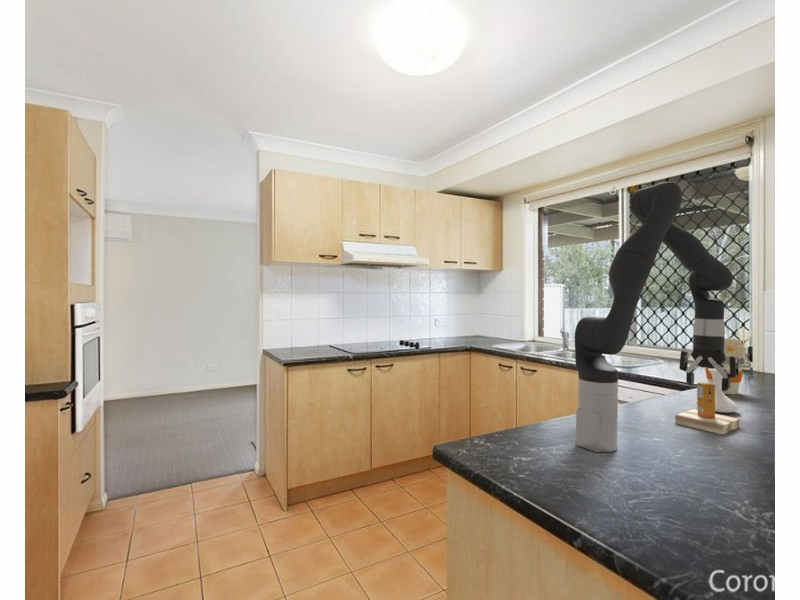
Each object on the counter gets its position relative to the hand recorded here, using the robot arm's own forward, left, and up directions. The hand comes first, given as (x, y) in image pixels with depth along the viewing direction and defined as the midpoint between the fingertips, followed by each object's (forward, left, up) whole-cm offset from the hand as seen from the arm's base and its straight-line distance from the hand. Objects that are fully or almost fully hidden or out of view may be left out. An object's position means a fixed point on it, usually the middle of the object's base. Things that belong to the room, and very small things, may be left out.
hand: (707, 388), depth 123 cm
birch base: (0, 0, -11) cm, 11 cm away
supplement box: (0, 0, -9) cm, 9 cm away
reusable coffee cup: (+55, +14, -11) cm, 58 cm away
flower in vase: (+21, +4, -11) cm, 24 cm away
